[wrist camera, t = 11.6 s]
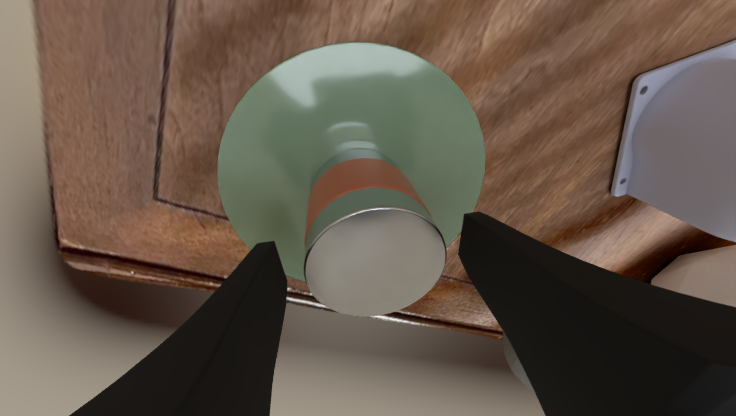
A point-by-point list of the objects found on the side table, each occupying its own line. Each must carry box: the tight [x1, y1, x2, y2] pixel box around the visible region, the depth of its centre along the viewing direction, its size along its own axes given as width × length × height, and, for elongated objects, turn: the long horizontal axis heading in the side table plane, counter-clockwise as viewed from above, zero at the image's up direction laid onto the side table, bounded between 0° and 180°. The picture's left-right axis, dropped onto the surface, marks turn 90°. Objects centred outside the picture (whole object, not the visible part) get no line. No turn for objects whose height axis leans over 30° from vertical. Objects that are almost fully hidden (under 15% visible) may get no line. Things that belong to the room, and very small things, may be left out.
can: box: [304, 149, 446, 316], centre depth 12 cm, size 5×5×6 cm
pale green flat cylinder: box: [217, 42, 485, 282], centre depth 16 cm, size 14×14×4 cm
